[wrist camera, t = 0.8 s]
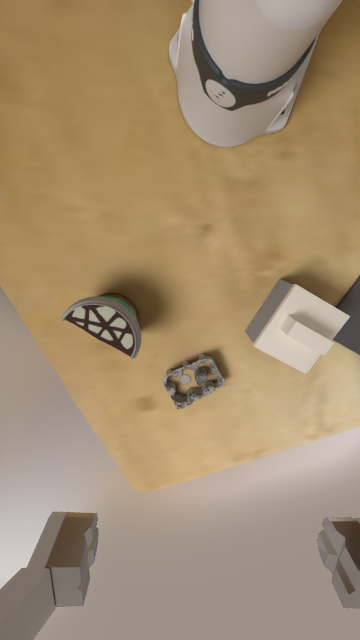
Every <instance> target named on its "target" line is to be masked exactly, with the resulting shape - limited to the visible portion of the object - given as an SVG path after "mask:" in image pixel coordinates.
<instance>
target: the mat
mask: <svg viewBox="0 0 360 640" xmlns="http://www.w3.org/2000/svg"><path fill="white" fill-rule="evenodd" d="M336 308H337V309H339V310H340V311H342V312H344V313H345V314H347V315H349V316H350V318H349V319H348V320H347V321H346V323H345V324H344V325H343V327H342V328H341V329H340V330H339V332H338V333H337V334H336V336H335V337H334V338H333V340H335V341H336V342H338V343H340V344H342V345H343V346H345V347H347V348H349V349H350V350H352V351H354V352H356V353H358V354H359V355H360V276H359V278H358V279H357V280H356V282H355V283H354V284H353V286H352V287H351V288H350V290H349V291H348V292H347V294H346V295H345V296H344V298H343V299H342V300H341V302H340V303H339V304H338V306H337V307H336Z"/></svg>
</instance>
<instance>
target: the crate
mask: <svg viewBox="0 0 360 640" xmlns="http://www.w3.org/2000/svg"><path fill="white" fill-rule="evenodd" d="M292 286H293V284H290V283H288V282H286V281H283V280H281V279H279V281H278V282H277V284H276V285H275V287H274V288H273V290H272V291H271V293H270V294H269V296H268V297H267V299H266V300H265V302H264V303H263V305H262V306H261V308H260V309H259V311H258V312H257V314H256V315H255V317H254V318H253V320H252V321H251V323H250V324H249V326H248V327H247V329H246V330H245V332H246V333H247V335H248V336H249V338H250V339H251V340H252V342H253V343H254V342H255V340H256V339H257V337H258V336H259V334H260V333H261V332H262V330H263V329H264V327H265V326H266V324H267V323H268V321H269V320H270V318H271V317H272V315H273V314H274V312H275V311H276V310H277V308H278V307H279V305H280V304H281V302H282V301H283V299H284V298H285V296H286V295H287V293H288V292H289V290H290V289H291V288H292Z"/></svg>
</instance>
